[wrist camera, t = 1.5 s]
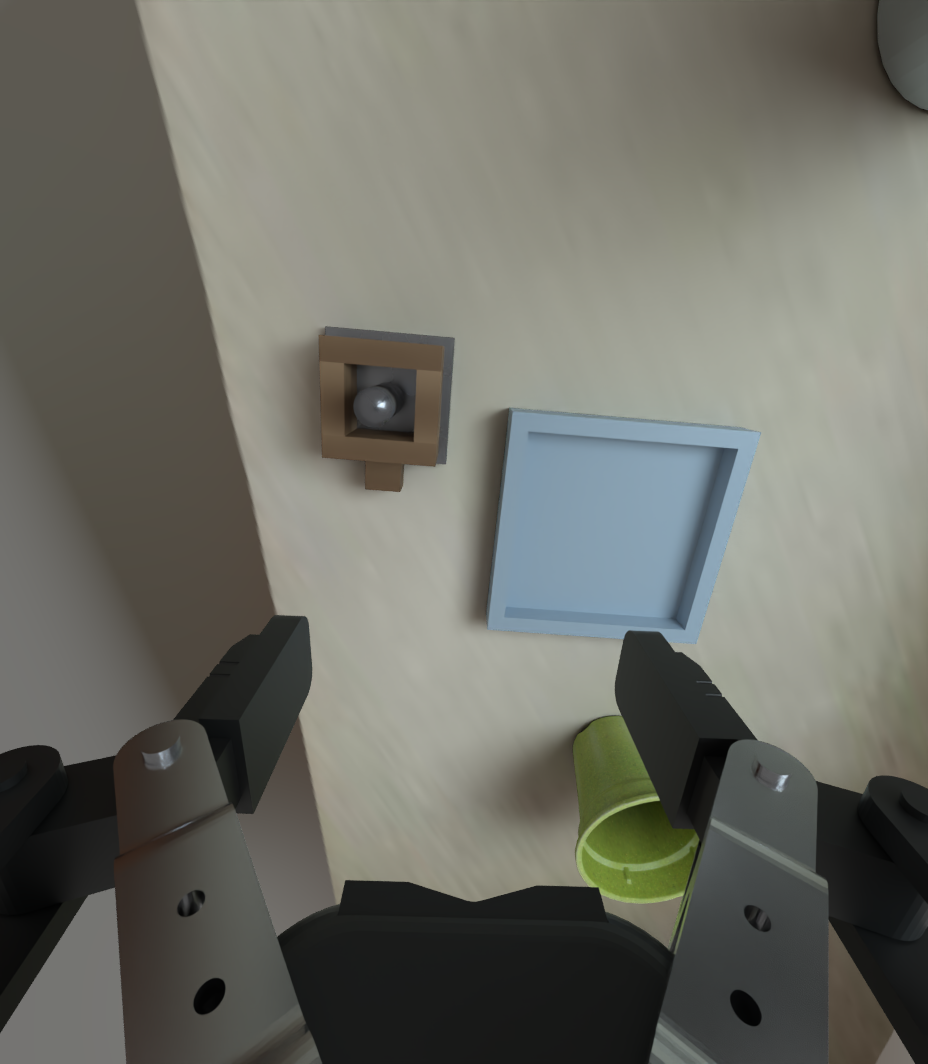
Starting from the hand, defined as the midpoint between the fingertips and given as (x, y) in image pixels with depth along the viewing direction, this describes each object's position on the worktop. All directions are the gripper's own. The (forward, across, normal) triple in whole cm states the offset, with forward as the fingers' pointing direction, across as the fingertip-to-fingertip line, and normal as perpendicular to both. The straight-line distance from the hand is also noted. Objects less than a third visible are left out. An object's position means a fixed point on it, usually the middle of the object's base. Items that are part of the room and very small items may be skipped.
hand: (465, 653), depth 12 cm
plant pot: (+18, -13, +21) cm, 31 cm away
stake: (+18, +4, -5) cm, 19 cm away
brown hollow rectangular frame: (+17, +4, -5) cm, 19 cm away
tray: (+18, -9, +3) cm, 21 cm away
